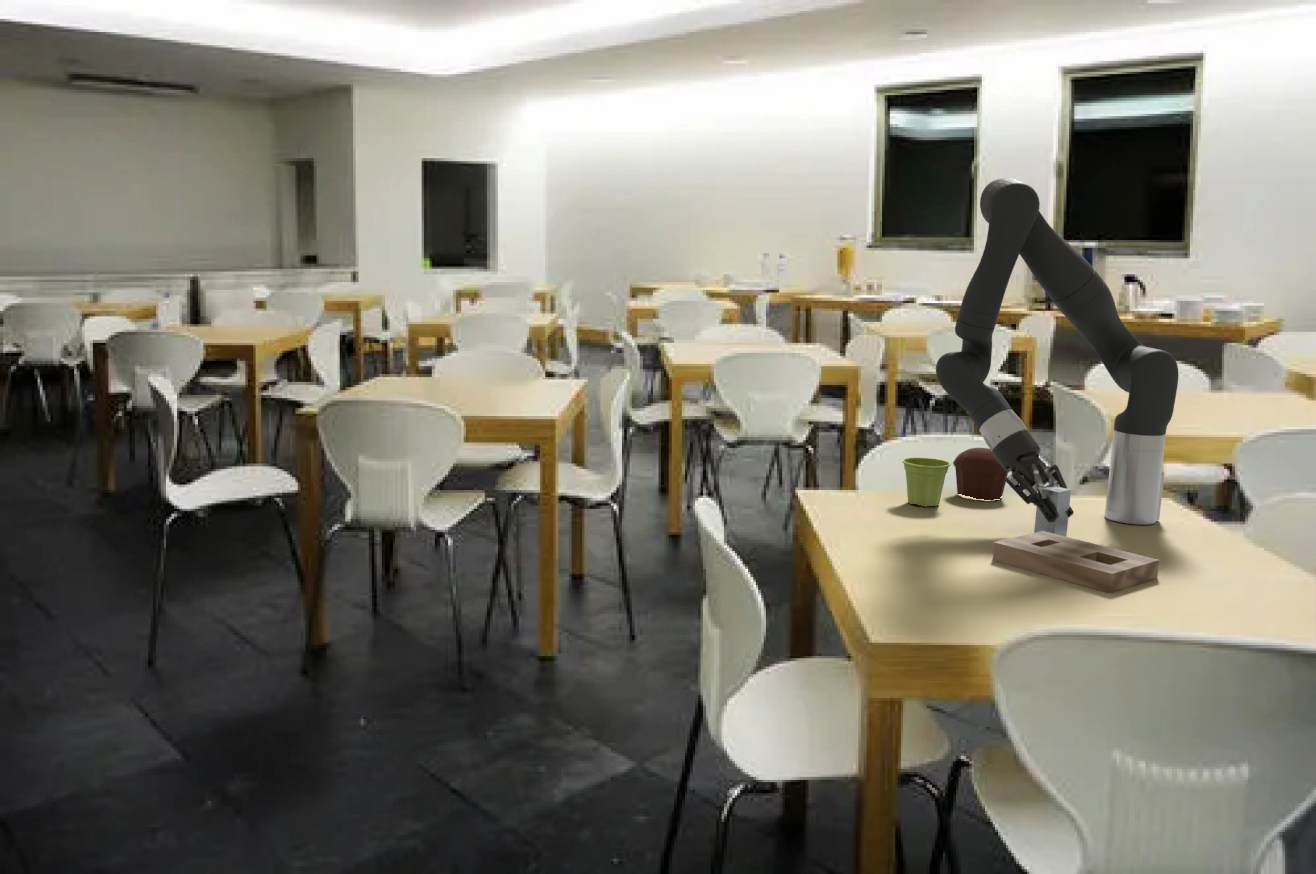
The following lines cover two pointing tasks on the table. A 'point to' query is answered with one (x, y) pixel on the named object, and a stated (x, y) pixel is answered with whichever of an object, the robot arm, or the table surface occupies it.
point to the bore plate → (1076, 561)
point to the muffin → (979, 474)
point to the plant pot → (925, 480)
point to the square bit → (1061, 504)
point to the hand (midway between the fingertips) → (1061, 517)
